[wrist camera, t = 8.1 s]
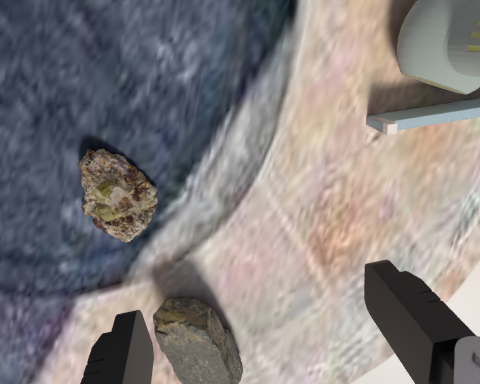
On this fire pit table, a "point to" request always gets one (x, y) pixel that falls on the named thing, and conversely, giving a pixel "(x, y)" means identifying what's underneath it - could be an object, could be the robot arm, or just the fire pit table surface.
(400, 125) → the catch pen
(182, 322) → the rock
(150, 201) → the mineral rock
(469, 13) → the air freshener
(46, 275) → the fire pit table surface
